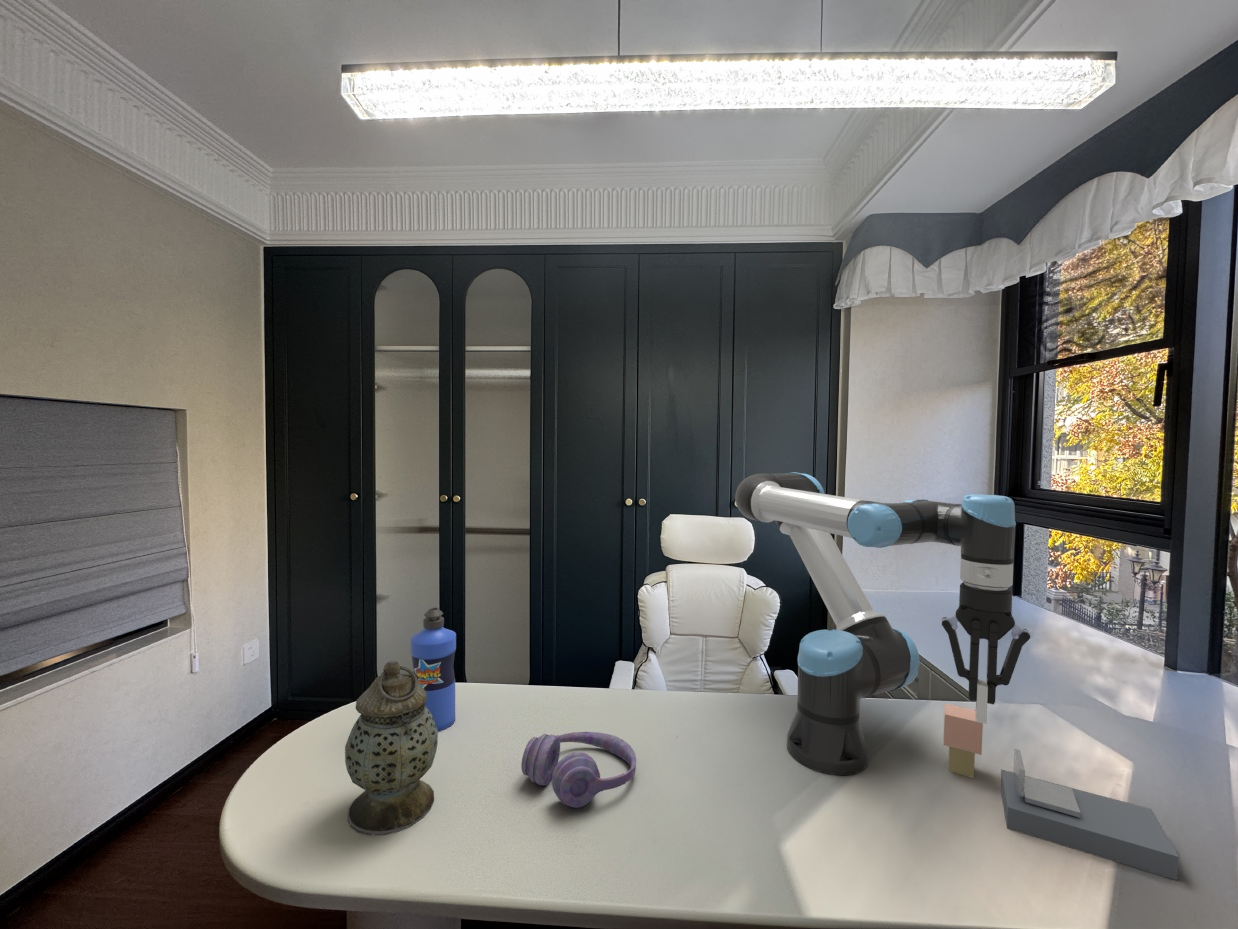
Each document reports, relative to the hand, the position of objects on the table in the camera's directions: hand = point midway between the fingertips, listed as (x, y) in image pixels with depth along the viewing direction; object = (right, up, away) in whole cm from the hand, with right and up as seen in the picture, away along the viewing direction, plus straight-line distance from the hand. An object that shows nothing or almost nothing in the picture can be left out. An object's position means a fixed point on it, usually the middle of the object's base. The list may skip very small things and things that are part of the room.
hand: (980, 719), depth 95 cm
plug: (+3, -14, +10) cm, 17 cm away
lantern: (-101, -13, -4) cm, 102 cm away
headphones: (-69, -14, +6) cm, 71 cm away
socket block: (+12, -15, -6) cm, 20 cm away
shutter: (+8, -11, -4) cm, 14 cm away
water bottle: (-103, -12, +24) cm, 107 cm away
